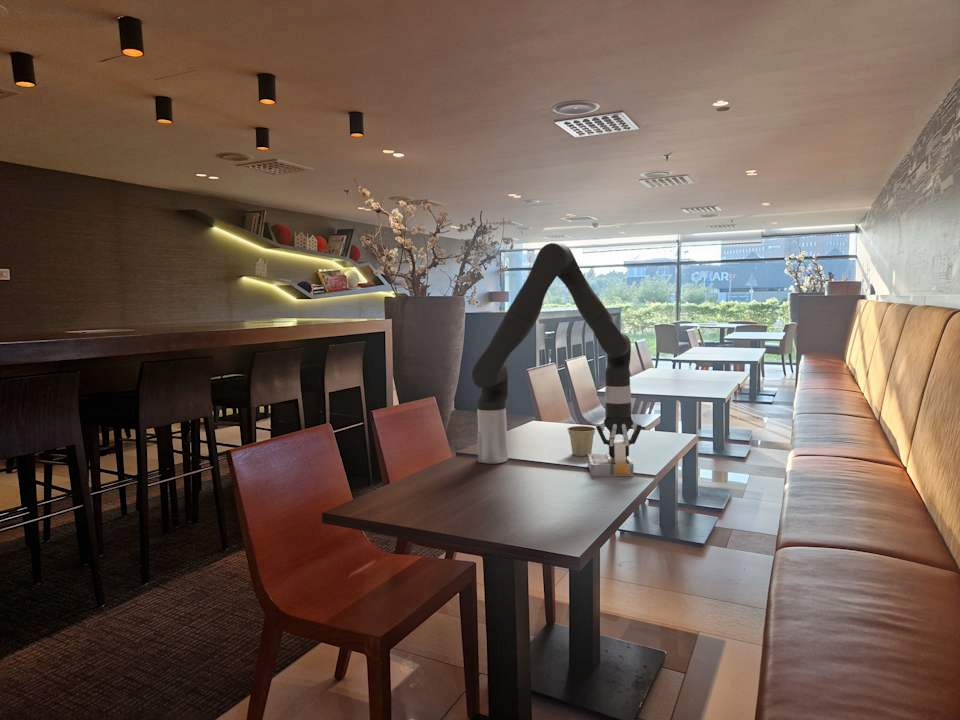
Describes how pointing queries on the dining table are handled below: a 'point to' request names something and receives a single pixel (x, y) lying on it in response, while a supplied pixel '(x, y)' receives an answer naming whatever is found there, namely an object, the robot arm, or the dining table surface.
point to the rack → (608, 466)
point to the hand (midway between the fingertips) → (619, 457)
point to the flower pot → (581, 439)
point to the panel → (619, 451)
